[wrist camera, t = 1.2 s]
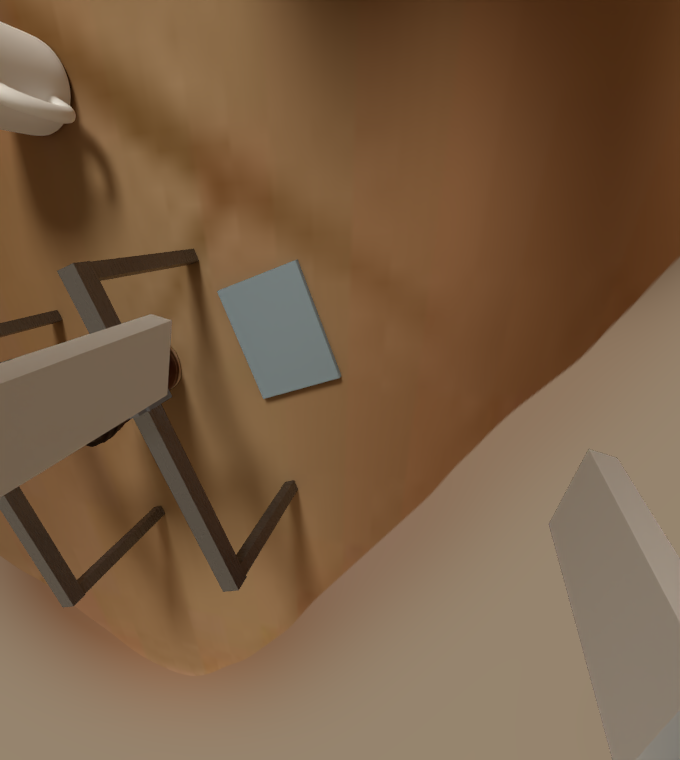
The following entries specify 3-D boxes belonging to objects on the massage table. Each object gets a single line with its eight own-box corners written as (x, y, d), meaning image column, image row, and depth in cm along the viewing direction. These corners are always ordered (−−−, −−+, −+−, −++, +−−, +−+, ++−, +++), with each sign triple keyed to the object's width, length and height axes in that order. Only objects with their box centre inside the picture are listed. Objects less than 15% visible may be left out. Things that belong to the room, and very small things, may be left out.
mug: (116, 82, 40) (10, 42, 31) (96, 172, 43) (-4, 160, 34) (8, 19, 40) (-128, -40, 31) (-3, 112, 44) (-129, 85, 35)
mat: (220, 290, 44) (217, 291, 44) (297, 259, 41) (295, 260, 41) (265, 396, 47) (263, 398, 47) (341, 375, 44) (339, 377, 44)
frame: (48, 313, 51) (-102, 349, 37) (195, 248, 43) (73, 263, 30) (156, 515, 58) (62, 607, 44) (299, 488, 50) (238, 590, 37)
